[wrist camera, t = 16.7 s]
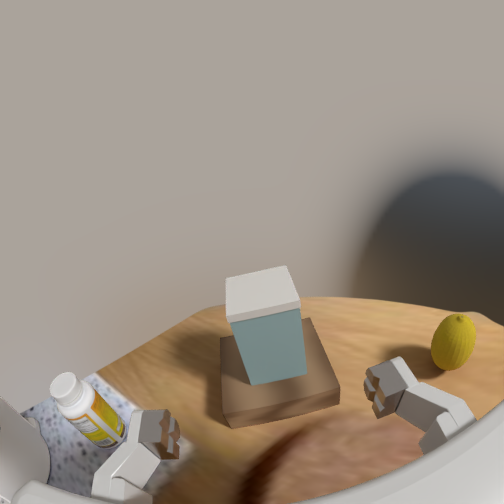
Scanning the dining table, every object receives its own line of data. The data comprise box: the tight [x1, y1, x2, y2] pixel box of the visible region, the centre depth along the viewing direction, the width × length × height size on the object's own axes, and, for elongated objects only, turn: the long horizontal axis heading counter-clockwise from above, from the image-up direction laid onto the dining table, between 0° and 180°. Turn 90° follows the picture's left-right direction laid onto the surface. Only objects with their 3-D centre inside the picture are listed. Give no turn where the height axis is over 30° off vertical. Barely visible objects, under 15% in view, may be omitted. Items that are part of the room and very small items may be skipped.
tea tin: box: [226, 265, 307, 386], centre depth 27 cm, size 6×6×10 cm
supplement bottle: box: [50, 372, 126, 449], centre depth 23 cm, size 6×6×10 cm
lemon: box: [431, 314, 476, 371], centre depth 23 cm, size 6×6×8 cm
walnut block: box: [220, 317, 340, 429], centre depth 30 cm, size 12×12×4 cm
